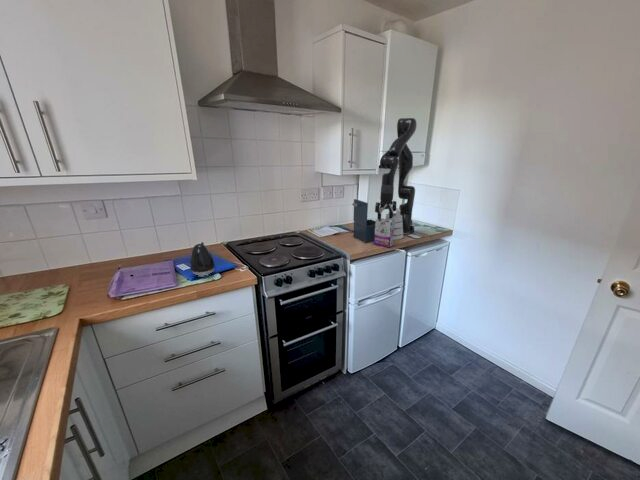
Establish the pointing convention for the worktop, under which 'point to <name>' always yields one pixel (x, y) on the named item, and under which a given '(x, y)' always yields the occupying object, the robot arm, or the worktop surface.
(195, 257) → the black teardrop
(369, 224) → the bin
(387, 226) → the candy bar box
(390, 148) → the robot arm
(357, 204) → the bin lid
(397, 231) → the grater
